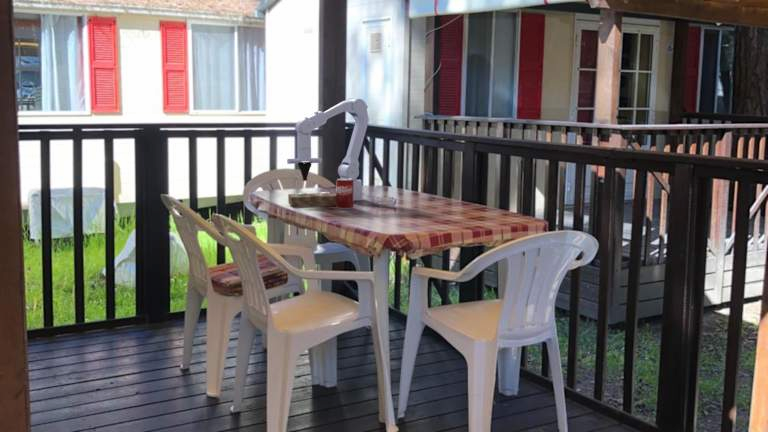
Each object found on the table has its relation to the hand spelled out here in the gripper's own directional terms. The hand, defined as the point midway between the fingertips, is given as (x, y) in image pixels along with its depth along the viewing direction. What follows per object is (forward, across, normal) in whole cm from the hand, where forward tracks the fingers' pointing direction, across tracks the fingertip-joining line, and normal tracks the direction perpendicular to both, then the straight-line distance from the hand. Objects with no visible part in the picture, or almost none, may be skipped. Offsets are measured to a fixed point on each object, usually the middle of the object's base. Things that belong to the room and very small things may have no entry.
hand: (304, 180), depth 352 cm
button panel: (+10, -3, +6) cm, 12 cm away
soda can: (+10, -14, +19) cm, 25 cm away
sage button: (+9, +2, +6) cm, 10 cm away
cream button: (+9, -8, +6) cm, 13 cm away
